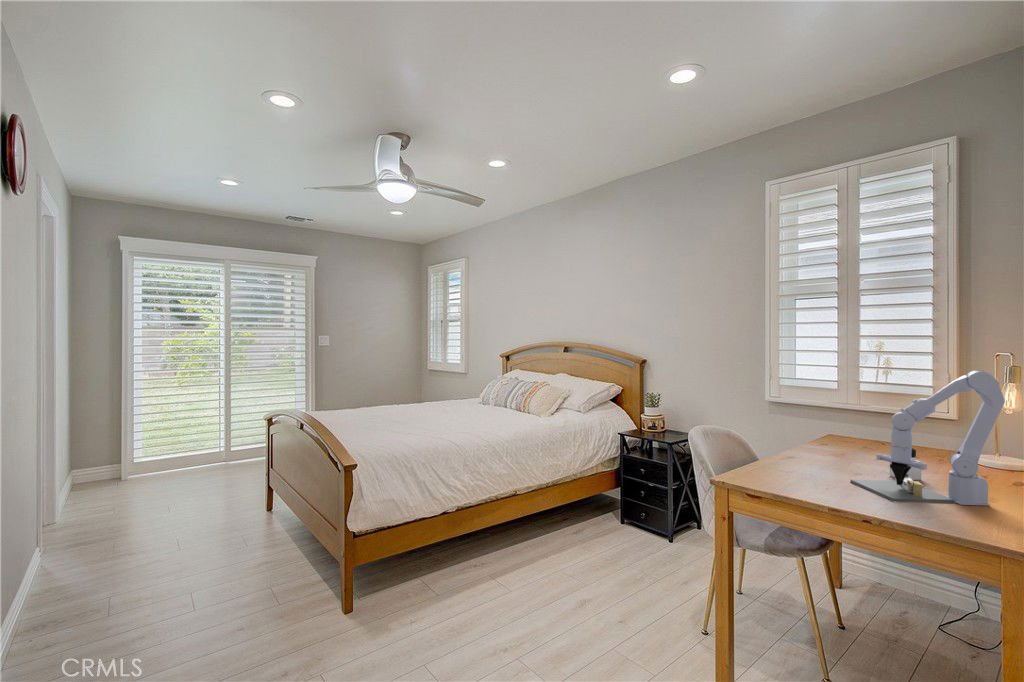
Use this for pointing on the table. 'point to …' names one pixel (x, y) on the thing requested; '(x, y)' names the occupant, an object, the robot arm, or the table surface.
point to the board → (899, 491)
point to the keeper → (916, 488)
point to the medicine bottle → (913, 472)
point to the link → (906, 485)
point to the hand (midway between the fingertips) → (899, 484)
